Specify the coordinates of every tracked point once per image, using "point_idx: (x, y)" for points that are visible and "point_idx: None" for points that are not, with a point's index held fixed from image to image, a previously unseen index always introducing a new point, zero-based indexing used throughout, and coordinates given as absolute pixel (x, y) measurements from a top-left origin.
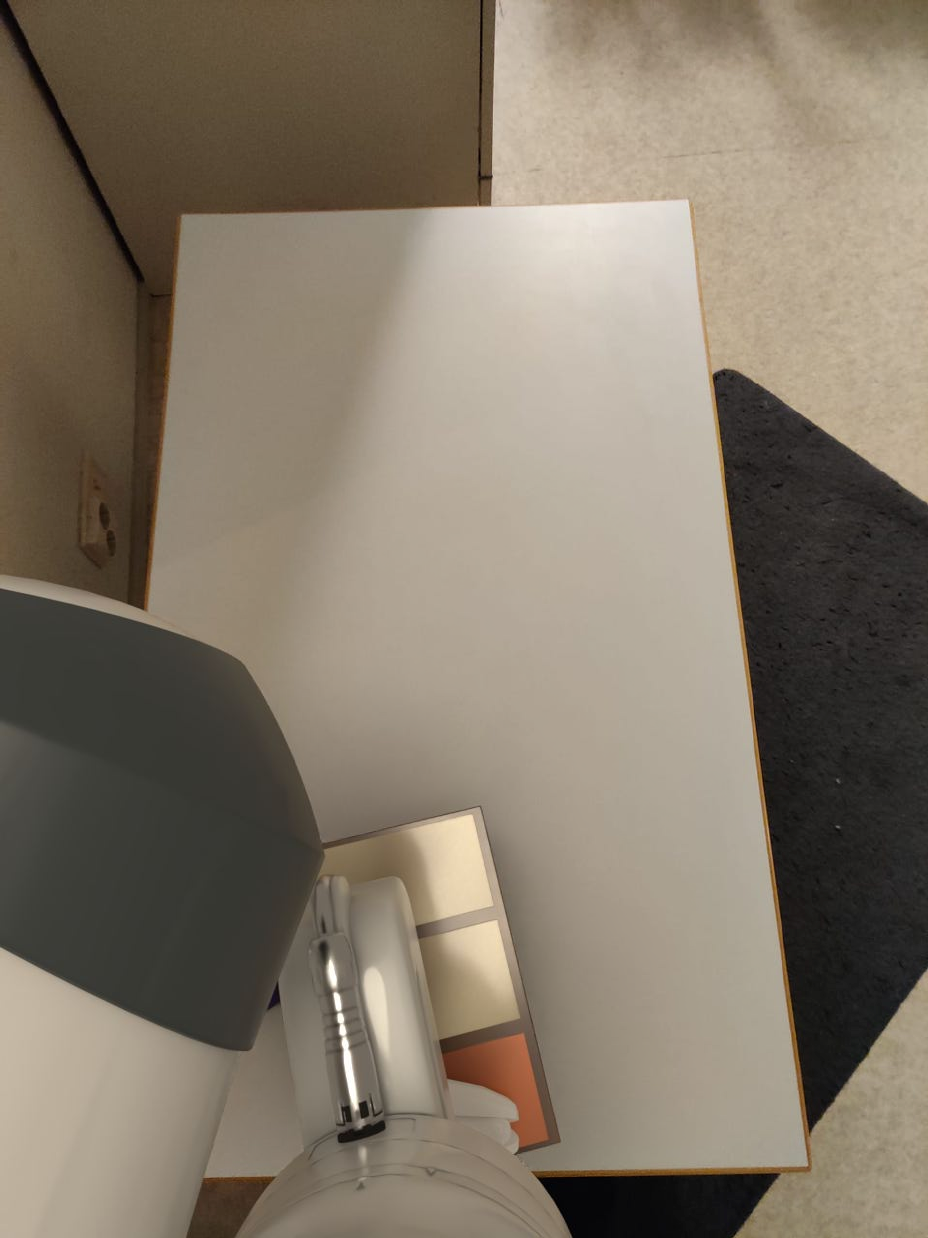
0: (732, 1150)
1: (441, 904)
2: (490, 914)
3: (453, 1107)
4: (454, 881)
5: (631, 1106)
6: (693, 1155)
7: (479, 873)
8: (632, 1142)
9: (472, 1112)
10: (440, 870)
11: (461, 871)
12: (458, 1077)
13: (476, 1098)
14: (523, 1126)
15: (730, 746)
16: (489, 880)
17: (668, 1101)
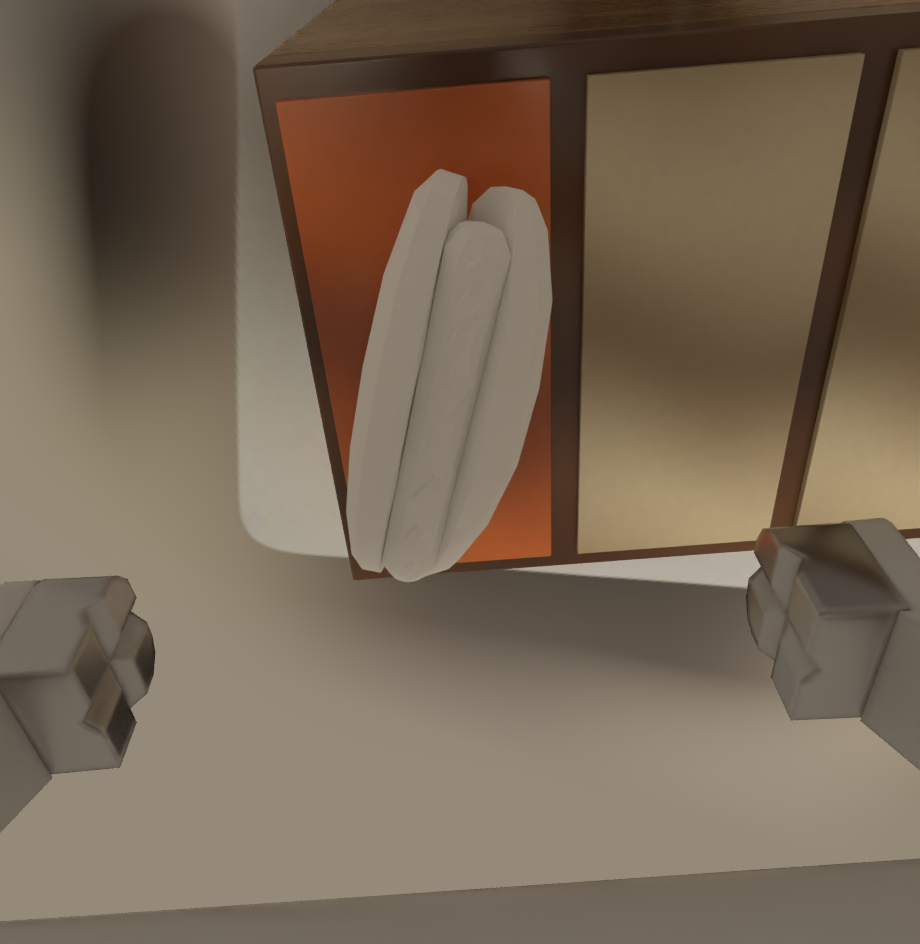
0: (250, 488)
1: (844, 448)
2: (777, 524)
3: (478, 499)
4: (875, 477)
5: (304, 390)
6: (245, 448)
7: None
8: (261, 383)
9: (459, 530)
10: (912, 455)
11: (888, 492)
12: None
13: (479, 527)
14: None
15: (699, 568)
16: None
17: (307, 432)
